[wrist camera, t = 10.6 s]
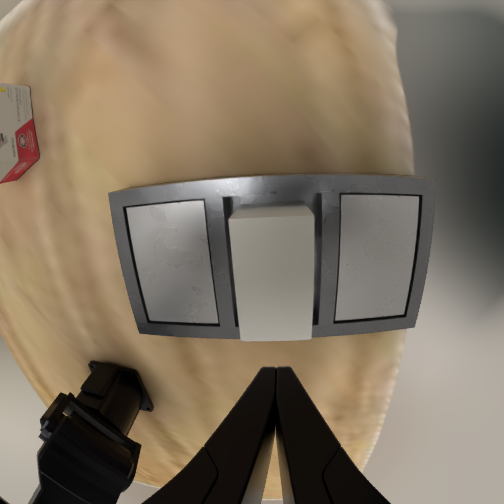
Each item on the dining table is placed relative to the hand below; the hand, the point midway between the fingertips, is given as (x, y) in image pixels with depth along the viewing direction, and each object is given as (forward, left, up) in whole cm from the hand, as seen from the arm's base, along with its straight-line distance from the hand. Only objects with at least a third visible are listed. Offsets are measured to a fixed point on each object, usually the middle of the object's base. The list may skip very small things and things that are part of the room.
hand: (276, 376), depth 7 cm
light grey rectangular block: (0, 0, -11) cm, 11 cm away
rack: (0, 0, -12) cm, 12 cm away
